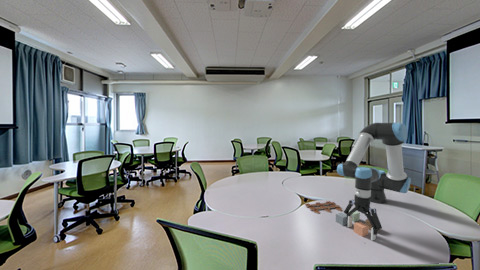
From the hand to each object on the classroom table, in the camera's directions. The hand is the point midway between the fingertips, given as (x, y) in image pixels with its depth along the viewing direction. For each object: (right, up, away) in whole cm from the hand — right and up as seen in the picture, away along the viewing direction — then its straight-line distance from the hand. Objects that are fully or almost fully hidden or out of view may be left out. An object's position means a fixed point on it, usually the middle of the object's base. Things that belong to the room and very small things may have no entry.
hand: (360, 232), depth 109 cm
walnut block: (+9, 0, +4) cm, 10 cm away
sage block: (+4, +1, +15) cm, 16 cm away
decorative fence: (-7, +2, +32) cm, 33 cm away
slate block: (-5, +1, +11) cm, 12 cm away
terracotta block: (0, 0, 0) cm, 0 cm away
